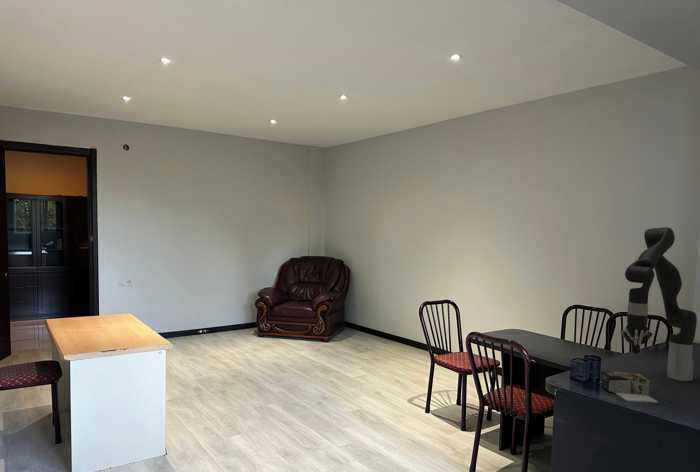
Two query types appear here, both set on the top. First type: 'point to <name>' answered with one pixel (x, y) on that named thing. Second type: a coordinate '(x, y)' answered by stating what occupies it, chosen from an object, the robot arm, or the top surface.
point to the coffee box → (625, 382)
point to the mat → (635, 397)
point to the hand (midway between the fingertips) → (635, 353)
